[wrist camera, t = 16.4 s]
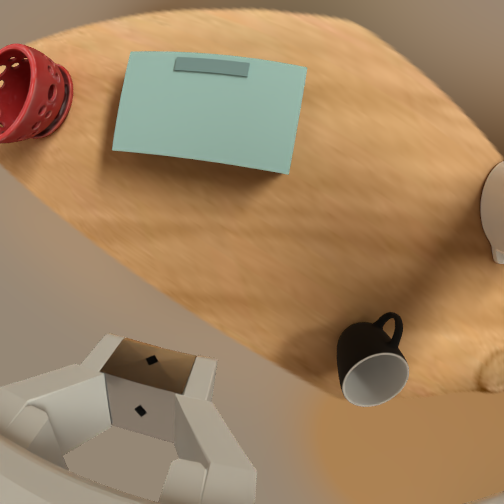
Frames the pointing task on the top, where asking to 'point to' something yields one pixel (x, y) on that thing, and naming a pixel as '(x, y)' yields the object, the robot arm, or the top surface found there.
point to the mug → (371, 362)
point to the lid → (210, 108)
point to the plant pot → (32, 94)
